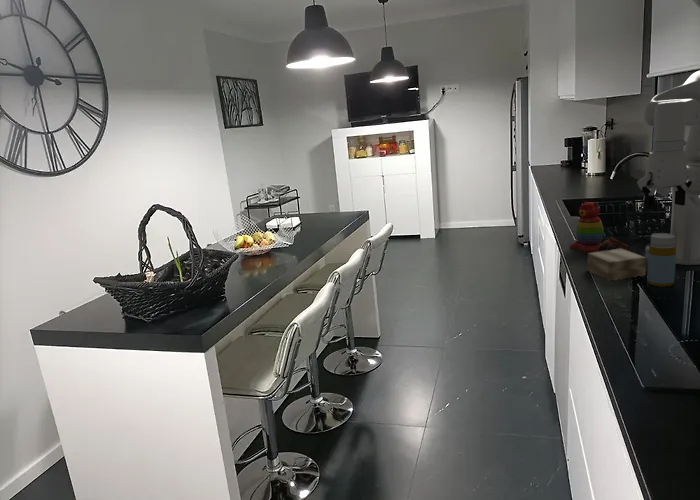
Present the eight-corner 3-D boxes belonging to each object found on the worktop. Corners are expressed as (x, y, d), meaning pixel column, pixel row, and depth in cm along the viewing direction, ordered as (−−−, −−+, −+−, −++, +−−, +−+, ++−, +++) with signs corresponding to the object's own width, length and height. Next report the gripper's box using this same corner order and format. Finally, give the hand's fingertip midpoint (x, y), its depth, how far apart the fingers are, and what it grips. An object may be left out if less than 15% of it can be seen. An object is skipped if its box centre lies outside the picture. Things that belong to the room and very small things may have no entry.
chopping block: (620, 265, 177) (621, 248, 176) (645, 275, 166) (646, 257, 164) (587, 270, 176) (587, 253, 174) (610, 281, 164) (610, 262, 163)
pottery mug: (596, 254, 193) (608, 234, 191) (621, 267, 189) (634, 247, 187) (591, 255, 183) (605, 234, 181) (618, 269, 179) (631, 248, 177)
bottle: (677, 287, 154) (681, 238, 150) (651, 288, 156) (654, 239, 152) (668, 279, 161) (671, 232, 157) (643, 280, 162) (646, 233, 158)
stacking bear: (567, 247, 203) (567, 202, 199) (588, 243, 206) (588, 198, 202) (589, 253, 193) (589, 206, 189) (610, 248, 197) (611, 201, 192)
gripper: (685, 143, 152) (681, 201, 157) (630, 149, 150) (628, 208, 154) (706, 144, 145) (701, 205, 149) (649, 150, 143) (646, 212, 147)
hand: (664, 206), depth 152 cm, fingers open, 9 cm apart
